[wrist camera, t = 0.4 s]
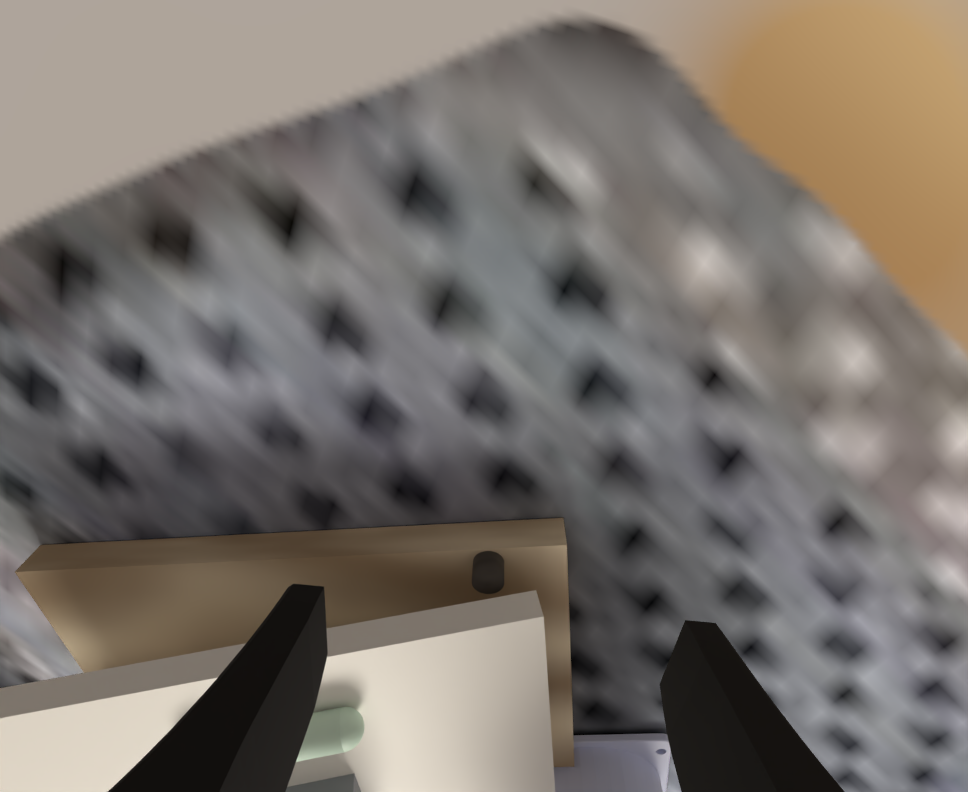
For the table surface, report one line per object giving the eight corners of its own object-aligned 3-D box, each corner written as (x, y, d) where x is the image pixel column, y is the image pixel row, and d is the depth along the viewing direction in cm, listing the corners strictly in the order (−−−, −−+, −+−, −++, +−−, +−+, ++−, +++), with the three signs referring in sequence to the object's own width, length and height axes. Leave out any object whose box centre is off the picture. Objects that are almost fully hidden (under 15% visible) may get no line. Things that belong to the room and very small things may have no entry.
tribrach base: (571, 736, 30) (579, 820, 27) (168, 746, 32) (129, 827, 29) (563, 517, 23) (573, 596, 20) (40, 545, 25) (-34, 621, 21)
